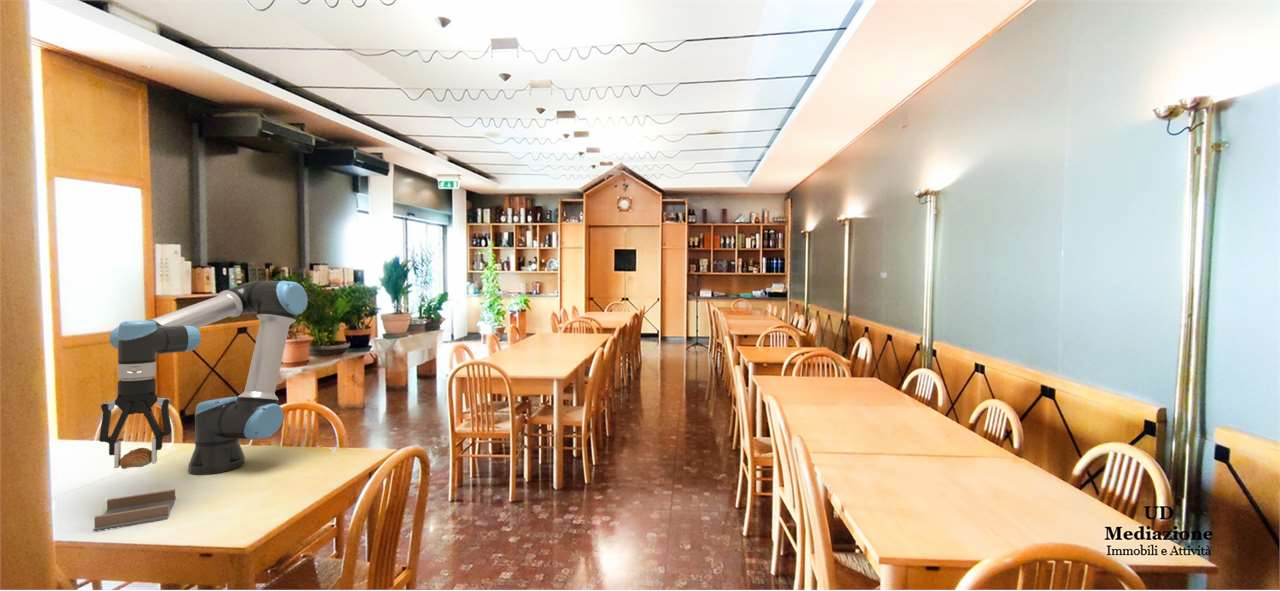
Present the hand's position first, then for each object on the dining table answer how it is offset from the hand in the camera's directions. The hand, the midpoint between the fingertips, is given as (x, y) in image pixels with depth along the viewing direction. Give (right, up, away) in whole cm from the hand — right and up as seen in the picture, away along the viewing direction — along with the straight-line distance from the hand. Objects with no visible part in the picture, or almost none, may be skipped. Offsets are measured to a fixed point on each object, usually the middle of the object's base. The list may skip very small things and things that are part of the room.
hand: (136, 464), depth 147 cm
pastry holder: (0, -13, 0) cm, 13 cm away
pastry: (0, 0, 0) cm, 1 cm away
